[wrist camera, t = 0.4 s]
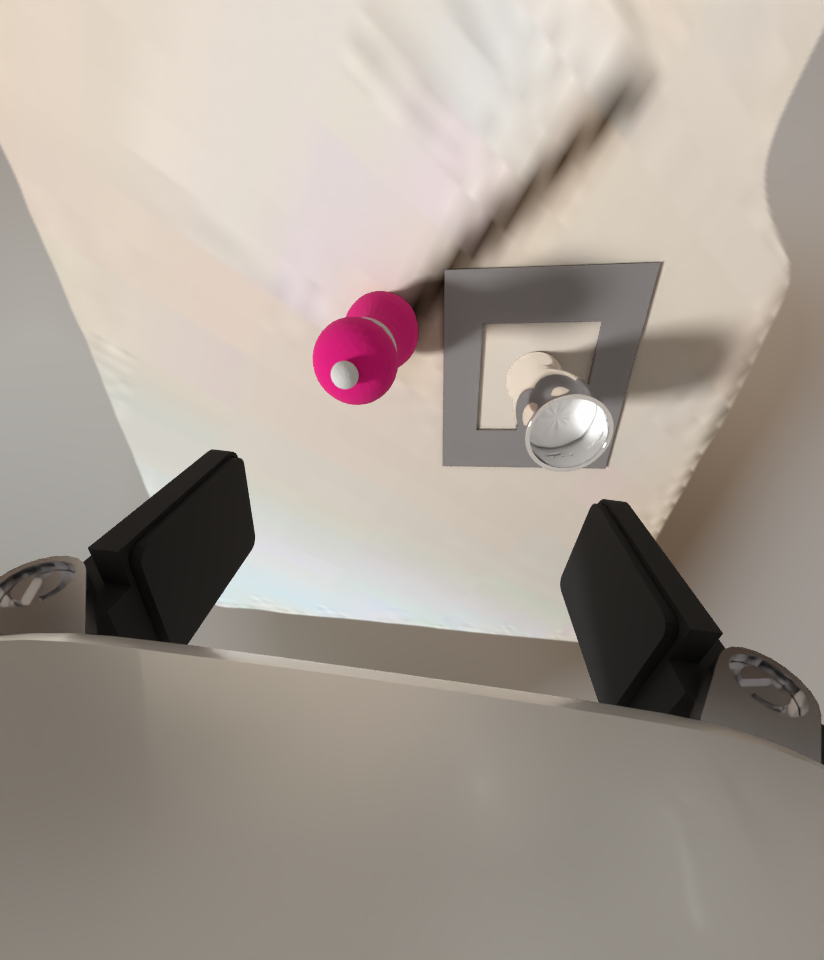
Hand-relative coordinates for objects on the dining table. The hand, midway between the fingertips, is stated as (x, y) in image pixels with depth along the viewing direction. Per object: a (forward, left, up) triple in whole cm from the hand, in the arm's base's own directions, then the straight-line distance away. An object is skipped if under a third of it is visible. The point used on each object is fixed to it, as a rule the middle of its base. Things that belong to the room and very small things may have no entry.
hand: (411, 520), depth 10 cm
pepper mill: (0, -6, -35) cm, 35 cm away
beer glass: (+6, +10, -35) cm, 37 cm away
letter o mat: (+6, +10, -35) cm, 37 cm away
